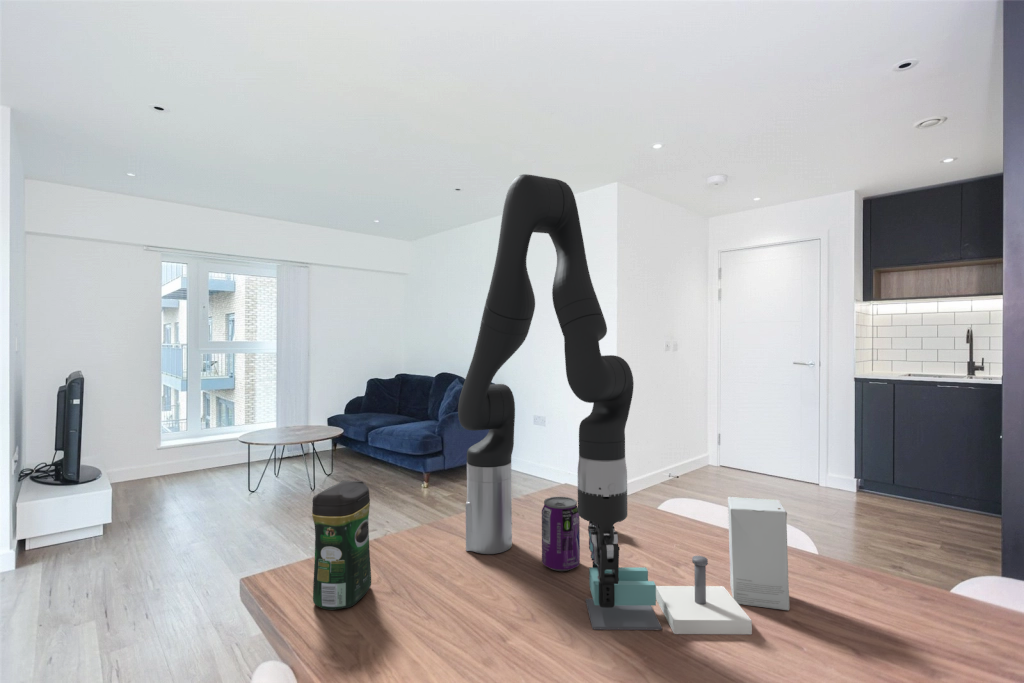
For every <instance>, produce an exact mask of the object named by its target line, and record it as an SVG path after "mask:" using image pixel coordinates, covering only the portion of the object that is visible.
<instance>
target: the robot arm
mask: <svg viewBox="0 0 1024 683" xmlns="http://www.w3.org/2000/svg"><path fill="white" fill-rule="evenodd" d="M503 203H504V205H503V210H502V214H501V215H502V216H501V223H500V231H499V238H498V245H497V250H496V251H497V253H496V256H495V263H494V267H493V270H492V271H493V272H492V275H491V276H492V277H491V280H490V285H489V289H488V293H487V296H486V300H485V303H484V308H483V312H482V316H481V321H480V327H479V331H478V335H477V340H476V343H475V347H474V351H473V355H472V359H471V362H470V364H469V368H468V370H467V374H466V377H465V379H464V382H463V386H462V389H461V392H460V395H459V399H458V404H457V406H458V407H457V414H458V415H457V417H458V421H459V424H460V425H461V427H463V429H465V430H466V431H487V430H488V432H487V434H486V435H485V437H484V438H482V439H481V440H480V441H478V442H477V443H474V444H473V445H471V446H470V447H469V448H467V451H466V487H467V488H466V502H465V551H467V552H474V553H476V554H482V555H494V554H501V553H504V552H507V551H509V550H510V548H511V547H512V545H513V531H512V530H513V522H512V521H513V514H512V512H513V510H512V509H513V508H512V506H513V504H512V500H513V499H512V494H513V493H512V455H513V454H512V453H513V450H514V447H515V446H514V443H515V424H516V423H515V422H516V421H515V418H516V405H515V404H516V403H515V397H514V394H513V391H512V390H511V388H510V386H508V385H506V384H505V383H496V384H495V383H494V384H493V383H492V381H493V379H494V377H495V375H496V374H497V373H498V371H499V370H500V369H501V368H502V367H503V365H505V364H506V362H507V361H508V360H509V359H511V357H512V356H514V354H515V353H516V352H517V351H518V350H519V349H520V348H521V346H522V345H523V344H524V343H525V341H526V339H527V337H528V334H529V332H530V328H531V325H532V324H531V323H532V320H533V316H534V313H535V309H536V296H535V293H534V289H533V286H532V281H531V279H530V276H529V272H528V267H527V258H528V257H527V256H528V252H529V246H530V242H531V238H532V235H533V233H537V234H548V236H549V237H550V238H551V239H550V240H551V242H552V243H553V246H554V248H555V252H556V267H555V273H554V278H553V284H552V288H551V289H552V290H551V291H552V292H551V296H552V303H553V308H554V312H555V315H556V317H557V318H556V319H557V321H558V324H559V327H560V330H561V333H562V335H563V339H564V341H563V342H564V343H563V344H564V349H563V350H564V359H565V361H564V362H565V374H566V378H567V379H566V380H567V382H568V386H569V387H570V389H571V391H572V393H573V394H574V395H575V397H577V398H578V399H579V400H580V401H582V402H584V403H587V404H588V403H589V404H592V410H591V412H590V414H589V415H588V416H586V417H584V418H583V419H582V420H581V421H580V424H579V427H578V462H577V507H578V514H579V518H580V519H583V520H584V521H587V522H588V526H587V527H588V528H587V531H588V532H587V533H588V549H589V551H590V559H591V562H592V567H598V576H597V578H598V581H599V605H600V607H602V608H612V607H614V605H615V598H614V584H618V581H619V577H618V572H619V564H620V563H619V560H620V549H621V548H620V545H619V543H618V542H619V537H618V531H616V530H615V524H616V523H621V522H622V521H625V520H626V519H627V517H628V468H627V467H628V466H627V463H626V433H625V432H626V426H627V425H626V424H627V422H628V418H629V414H630V409H631V406H632V400H633V399H632V398H633V396H634V386H635V385H634V382H635V381H634V375H633V371H632V370H631V369H632V368H631V367H630V365H629V363H628V361H626V360H625V359H624V358H623V357H620V356H618V355H612V354H611V355H608V354H607V355H602V353H601V348H600V341H601V340H603V339H604V338H605V336H607V333H608V327H607V323H606V318H605V316H604V314H603V310H602V308H601V304H600V302H599V300H598V299H599V298H598V296H597V294H596V291H595V288H594V285H593V282H592V278H591V275H590V270H589V265H588V261H587V254H586V248H585V244H584V243H585V242H584V236H583V232H582V227H581V220H580V216H579V214H580V213H579V210H578V205H577V200H576V197H575V194H574V191H573V190H572V188H571V186H570V185H569V184H568V183H567V182H566V181H563V180H560V179H557V178H552V177H544V176H541V175H540V176H539V175H534V174H529V173H528V174H527V173H525V174H520V175H518V176H516V177H514V179H513V180H512V182H511V183H510V186H509V187H508V190H507V192H506V195H505V199H504V202H503ZM607 569H611V573H605V570H607Z"/></svg>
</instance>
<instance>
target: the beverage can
mask: <svg viewBox="0 0 1024 683" xmlns="http://www.w3.org/2000/svg"><path fill="white" fill-rule="evenodd" d="M543 504H544V505H543V507H542V508H541V563H542V564H543V565H544V566H545V567H547V568H549V569H551V570H553V571H557V572H567V571H571V570H573V569H575V568H577V567H578V566H579V565H580V564H581V558H580V557H581V556H580V555H581V545H580V543H581V542H580V540H581V538H580V537H581V536H580V530H581V529H580V526H581V525H580V519H581V518H580V516H579V514H578V500H576V499H574V498H572V497H568V496H550V497H547V498H545V499H544V501H543Z"/></svg>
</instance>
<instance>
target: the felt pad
mask: <svg viewBox="0 0 1024 683" xmlns="http://www.w3.org/2000/svg"><path fill="white" fill-rule="evenodd" d="M585 603H586V607H587V608H586V609H587V612H588V616H589V620H590V625H591V628H592V630H596V631H597V630H601V631H603V630H606V631H607V630H608V631H609V630H613V631H614V630H617V631H619V630H621V631H624V630H627V631H628V630H629V631H631V630H632V631H634V630H635V631H637V630H639V631H641V630H643V631H647V630H648V631H650V630H651V631H662V630H663V629H662V628H663V627H662V625H661V623H660V621H659V619H658V617H657V615H656V613H655V611H654V609H653V607H652V606H651V605H614V607H612V608H602V607H600V605H594V601H593V598H585Z"/></svg>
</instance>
